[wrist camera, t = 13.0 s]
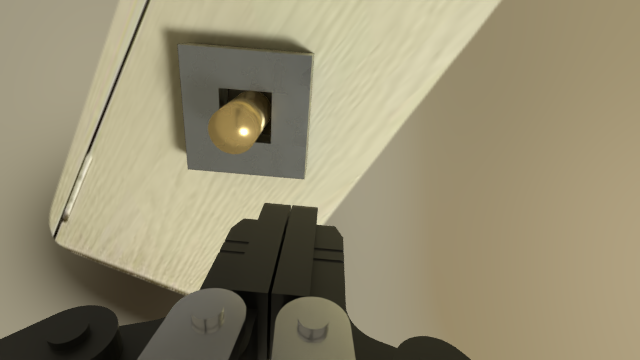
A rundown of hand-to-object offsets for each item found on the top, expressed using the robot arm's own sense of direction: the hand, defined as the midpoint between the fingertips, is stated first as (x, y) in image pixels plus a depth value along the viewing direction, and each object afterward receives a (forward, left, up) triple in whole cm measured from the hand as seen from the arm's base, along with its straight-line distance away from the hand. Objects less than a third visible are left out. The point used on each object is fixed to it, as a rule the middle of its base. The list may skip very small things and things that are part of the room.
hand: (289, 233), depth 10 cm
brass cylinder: (+3, -7, -27) cm, 28 cm away
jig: (+3, -7, -27) cm, 28 cm away
